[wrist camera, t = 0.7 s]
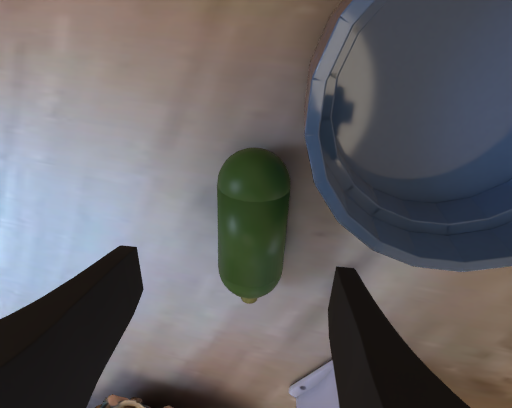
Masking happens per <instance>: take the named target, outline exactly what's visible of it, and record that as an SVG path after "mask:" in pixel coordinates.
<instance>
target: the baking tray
mask: <svg viewBox="0 0 512 408" xmlns="http://www.w3.org/2000/svg"><path fill="white" fill-rule="evenodd" d="M103 402H104V403H103V404H101V405H98V406H96V407H95V408H150V407H149V406H147V405H143V404H141V403H142V402H143V401H142V400H141V399H140V398H136V397H133V398H131V399H130V400H129V399H127V398H124V397H119V396H116V395H113V394H112V396H109V397H108V398H106V399H105V401H103ZM164 408H172V407H170V406H166V407H164Z"/></svg>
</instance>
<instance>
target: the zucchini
mask: <svg viewBox="0 0 512 408" xmlns="http://www.w3.org/2000/svg"><path fill="white" fill-rule="evenodd" d="M289 197H290V177H289V173H288V170H287V168H286V166H285V164H284V163H283V162H282V161H281V159H280V158H279V157H277V156H276V155H275V154H274V153H272V152H270V151H267V150H265V149H261V148H247V149H243V150H240V151H238V152H236V153H235V154H233V155H231V156H230V157H229V158H228V159H227V160H226V161H225V163H224V164H223V166H222V168H221V170H220V172H219V175H218V184H217V199H218V267H219V274H220V277H221V280H222V282H223V283H224V285H225V286H226V287H227V289H228V290H229V291H231V292H232V293H234V294H235V295H237V296H239V297H241V299H242V301H243V302H245V303H249V304H250V303H254V302H256V301H257V299H258V298H259V297H262V296H264V295H266V294H268V293H269V292H270V291H272V290H273V289H274V288H275V286H276V285H277V284H278V282H279V280H280V277H281V274H282V270H283V259H284V249H285V239H286V228H287V218H288V207H289Z"/></svg>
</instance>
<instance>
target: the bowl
mask: <svg viewBox="0 0 512 408" xmlns="http://www.w3.org/2000/svg"><path fill="white" fill-rule="evenodd" d="M304 133H305V141H306V146H307V151H308V156H309V161H310V165H311V170H312V175H313V180H314V183H315V186H316V187H317V189H318V191H319V192H320V194H321V195H322V197H323V199H324V200H325V202H326V204H327V205H328V207H329V209H330V210H331V212H332V213H333V215H334V217H335V218H336V220H337V221H338V222H339V223H340V224H341V225H342V226H343V227H345V228H346V229H347V230H348V231H350V232H351V233H352V234H353V235H354V236H356V237H357V238H358V239H359V240H361V241H362V242H363V243H364V244H365V245H367V246H368V247H369V248H370V249H372V250H373V251H376V252H378V253H381V254H383V255H386V256H388V257H391V258H393V259H396V260H398V261H401V262H403V263H406V264H409V265H411V266H415V267H422V268H431V269H439V270H448V271H457V272H462V271H463V272H468V271H477V270H485V269H494V268H502V267H510V266H512V0H342V1H341V2H340V4H339V5H338V6H337V7H336V9H335V10H334V11H333V12H332V13H331V15H330V17H329V19H328V22H327V24H326V26H325V28H324V31H323V33H322V35H321V38H320V40H319V42H318V44H317V47H316V49H315V51H314V54H313V56H312V58H311V61H310V64H309V72H308V80H307V88H306V97H305V105H304Z"/></svg>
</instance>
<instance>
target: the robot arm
mask: <svg viewBox="0 0 512 408" xmlns="http://www.w3.org/2000/svg"><path fill="white" fill-rule="evenodd" d="M142 292H143V283H142V277H141V271H140V265H139V258H138V252H137V247H131V246H119V247H117V248H116V249H114V250H113V251H111V252H110V253H108V254H107V255H106V256H104V257H103V258H101V259H100V260H98V261H97V262H95V263H94V264H93V265H91V266H90V267H88V268H87V269H85V270H84V271H82V272H81V273H79V274H78V275H77V276H75V277H74V278H72V279H71V280H69V281H67V282H66V283H64V284H63V285H61V286H59V287H58V288H56V289H55V290H53V291H51V292H50V293H48V294H47V295H45V296H43V297H42V298H40V299H38V300H36V301H35V302H33V303H31V304H29V305H27V306H25V307H23V308H22V309H20V310H18V311H16V312H14V313H12V314H10V315H8V316H6V317H4V318H2V319H0V408H86V407H87V405H88V403H89V400H90V398H91V396H92V393H93V391H94V389H95V386H96V384H97V382H98V380H99V378H100V376H101V374H102V372H103V370H104V368H105V366H106V364H107V362H108V361H109V359H110V357H111V355H112V353H113V351H114V350H115V348H116V346H117V344H118V342H119V341H120V339H121V337H122V335H123V333H124V332H125V330H126V328H127V326H128V324H129V322H130V320H131V319H132V317H133V315H134V312H135V310H136V307H137V305H138V303H139V300H140V297H141V294H142ZM328 323H329V340H330V347H331V353H332V360H331V361H330V362H328V363H327V364H325V365H323V366H322V367H320V368H319V369H317V370H315V371H314V372H312V373H311V374H309V375H308V376H306V377H304V378H303V379H301V380H300V381H298V382H296V383H295V384H293V385H292V386H290V387H289V393H290V394H291V395H292V396H293V397H295V398H296V408H470V407H469V406H468V405H467V404H466V403H464V402H463V401H462V400H461V399H460V398H459V397H458V396H457V395H456V394H454V393H453V392H452V391H451V390H450V389H449V388H448V387H447V386H446V385H445V384H444V383H443V382H442V381H441V380H440V379H439V378H438V377H437V376H436V375H434V374H433V373H432V372H431V371H430V369H429V368H428V367H427V366H426V365H425V364H424V363H423V362H422V361H421V360H420V359H419V358H418V357H417V355H416V354H415V353H414V352H413V351H412V350H411V349H410V348H409V346H408V345H407V344H406V343H405V342H404V340H403V339H402V338H401V337H400V335H399V334H398V333H397V331H396V330H395V329H394V328H393V326H392V325H391V324H390V322H389V321H388V320H387V318H386V317H385V315H384V314H383V312H382V311H381V310H380V308H379V307H378V305H377V304H376V302H375V301H374V299H373V298H372V296H371V295H370V293H369V291H368V290H367V288H366V287H365V285H364V283H363V282H362V280H361V278H360V276H359V275H358V273H357V271H356V270H355V269H354V268H345V267H336V271H335V276H334V281H333V286H332V291H331V297H330V302H329V307H328Z"/></svg>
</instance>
